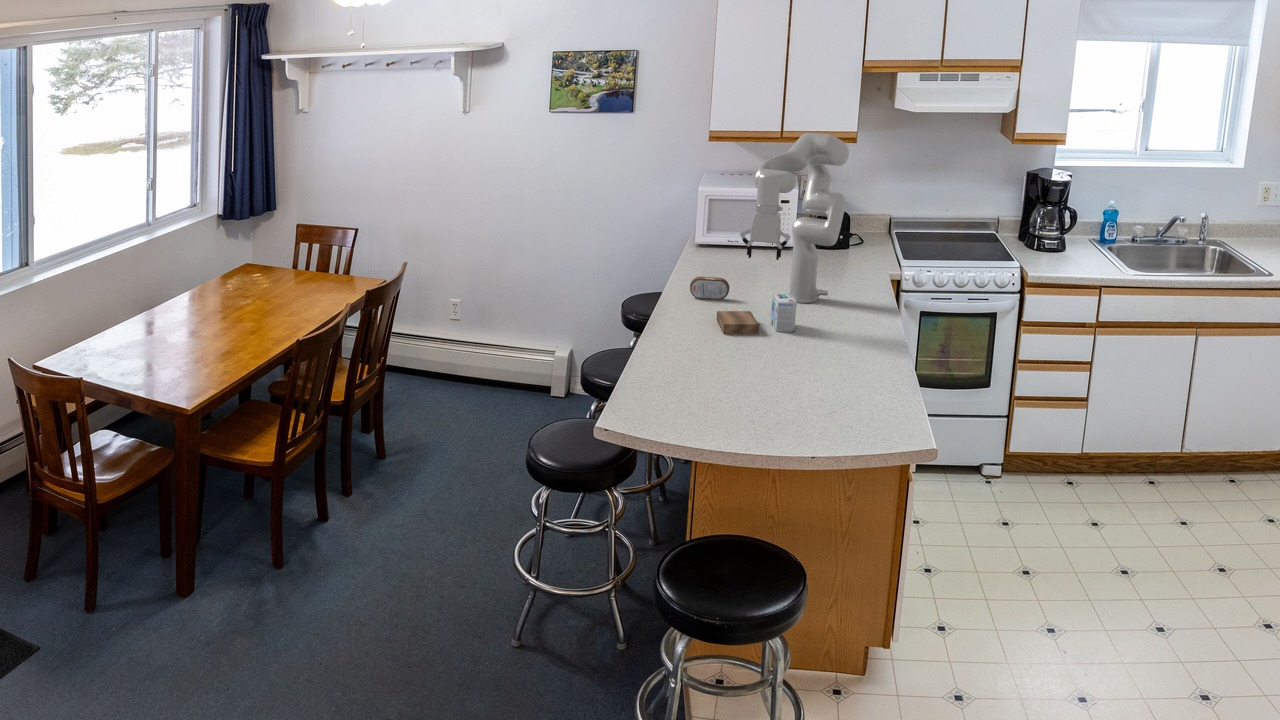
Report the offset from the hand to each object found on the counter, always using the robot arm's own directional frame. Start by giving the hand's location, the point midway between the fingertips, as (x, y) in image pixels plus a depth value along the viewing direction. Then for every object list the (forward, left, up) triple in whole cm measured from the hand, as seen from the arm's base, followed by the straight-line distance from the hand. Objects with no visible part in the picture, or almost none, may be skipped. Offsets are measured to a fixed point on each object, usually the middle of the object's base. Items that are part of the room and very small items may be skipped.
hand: (763, 258), depth 360 cm
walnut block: (+9, +8, -23) cm, 26 cm away
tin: (+14, -29, -23) cm, 40 cm away
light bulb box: (-7, +8, -23) cm, 25 cm away
